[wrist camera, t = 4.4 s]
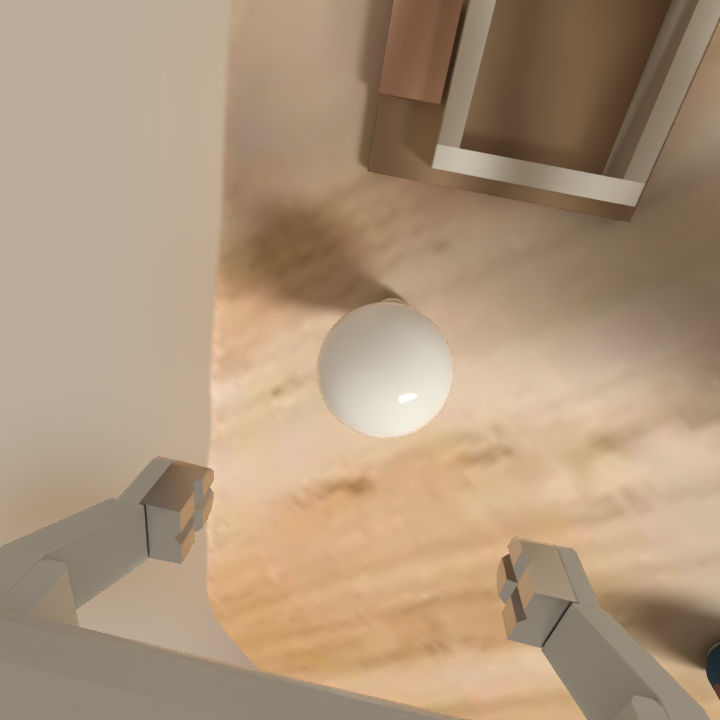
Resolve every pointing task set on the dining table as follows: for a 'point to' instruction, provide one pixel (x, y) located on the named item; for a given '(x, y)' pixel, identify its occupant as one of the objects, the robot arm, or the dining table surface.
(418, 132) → the socket board
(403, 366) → the lightbulb
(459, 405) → the dining table surface
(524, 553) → the robot arm
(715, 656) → the soda can
